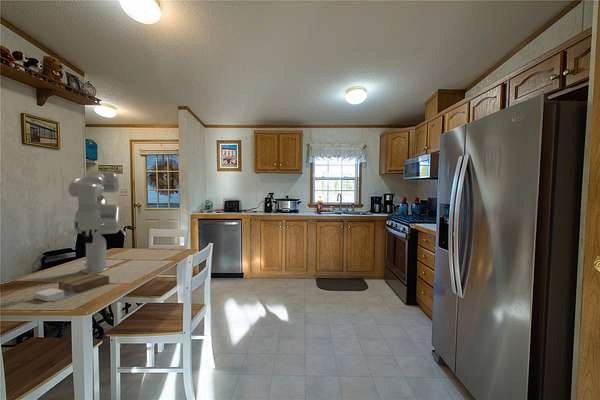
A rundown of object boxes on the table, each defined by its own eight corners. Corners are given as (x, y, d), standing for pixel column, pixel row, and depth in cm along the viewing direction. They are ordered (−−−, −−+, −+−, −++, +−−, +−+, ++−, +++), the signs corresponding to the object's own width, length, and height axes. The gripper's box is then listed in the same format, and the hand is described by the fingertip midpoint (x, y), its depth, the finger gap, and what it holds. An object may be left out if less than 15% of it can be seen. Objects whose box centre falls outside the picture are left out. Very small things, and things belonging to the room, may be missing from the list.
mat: (33, 296, 112) (33, 296, 112) (58, 289, 121) (58, 288, 121) (53, 301, 107) (53, 301, 107) (78, 294, 116) (78, 293, 116)
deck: (58, 289, 120) (58, 281, 120) (91, 280, 134) (90, 272, 134) (77, 293, 116) (77, 285, 116) (109, 283, 129) (108, 276, 129)
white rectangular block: (51, 288, 116) (51, 293, 116) (34, 293, 110) (34, 298, 110) (64, 290, 113) (64, 295, 113) (47, 295, 107) (47, 301, 107)
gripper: (99, 206, 135) (100, 239, 136) (65, 208, 121) (66, 245, 122) (108, 207, 132) (109, 241, 134) (74, 209, 119) (75, 247, 120)
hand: (88, 242), depth 128 cm, fingers closed
